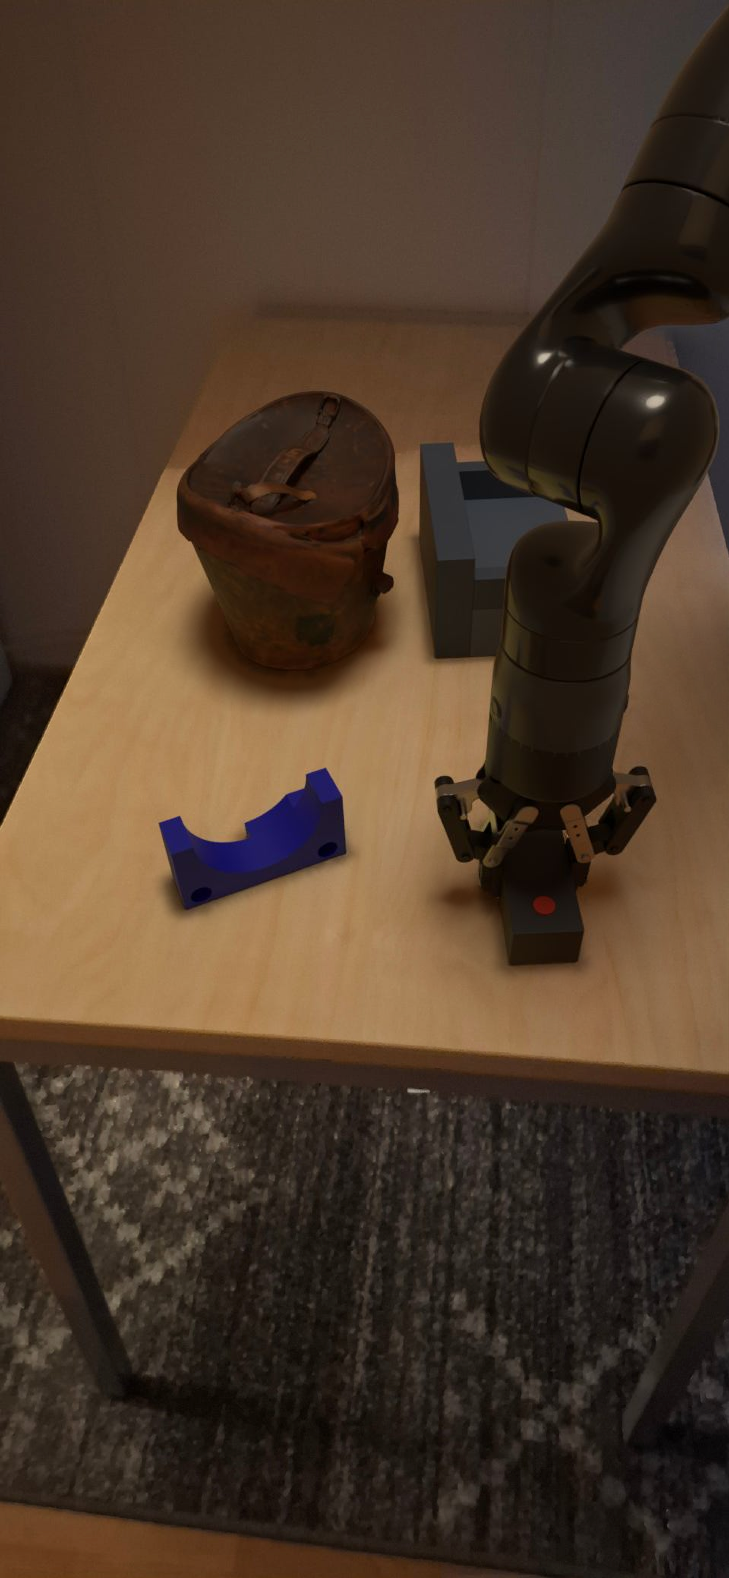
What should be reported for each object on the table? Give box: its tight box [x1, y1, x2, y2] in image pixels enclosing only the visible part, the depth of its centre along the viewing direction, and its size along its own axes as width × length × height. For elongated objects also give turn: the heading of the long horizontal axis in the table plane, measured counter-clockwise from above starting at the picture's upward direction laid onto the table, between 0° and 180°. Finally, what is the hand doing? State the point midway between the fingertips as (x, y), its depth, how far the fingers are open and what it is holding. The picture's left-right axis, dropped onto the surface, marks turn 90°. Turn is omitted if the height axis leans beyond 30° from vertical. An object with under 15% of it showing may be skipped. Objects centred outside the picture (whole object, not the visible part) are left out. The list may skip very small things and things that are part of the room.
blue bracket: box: [158, 767, 347, 911], centre depth 72 cm, size 12×4×6 cm, turn 114°
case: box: [176, 390, 400, 670], centre depth 86 cm, size 18×20×18 cm
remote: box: [487, 814, 585, 966], centre depth 71 cm, size 4×12×4 cm, turn 2°
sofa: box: [418, 442, 570, 659], centre depth 91 cm, size 13×18×10 cm
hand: (530, 885), depth 71 cm, fingers closed on remote, 4 cm apart
